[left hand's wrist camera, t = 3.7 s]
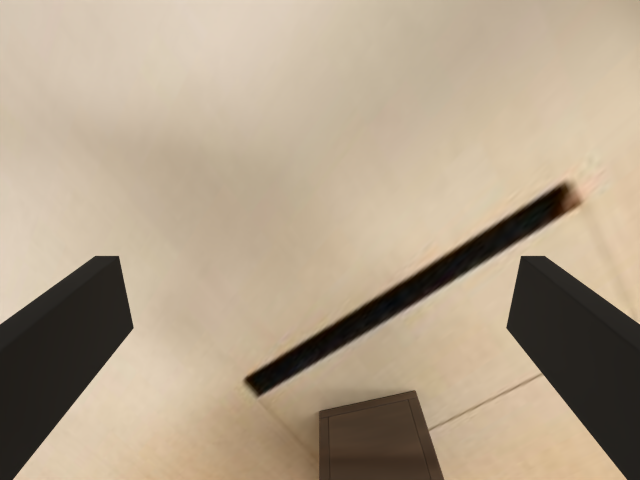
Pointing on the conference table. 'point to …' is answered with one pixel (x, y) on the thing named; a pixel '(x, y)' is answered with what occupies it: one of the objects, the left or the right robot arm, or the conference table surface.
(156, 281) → the conference table surface
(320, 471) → the chest
